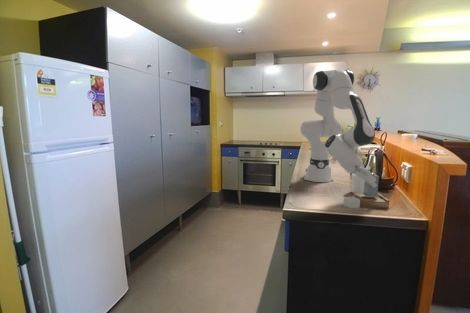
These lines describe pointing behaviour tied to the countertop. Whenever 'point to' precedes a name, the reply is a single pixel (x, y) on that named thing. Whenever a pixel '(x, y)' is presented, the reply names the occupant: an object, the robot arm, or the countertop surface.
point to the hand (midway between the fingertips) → (372, 184)
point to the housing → (371, 188)
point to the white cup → (357, 184)
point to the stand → (372, 201)
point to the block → (351, 202)
